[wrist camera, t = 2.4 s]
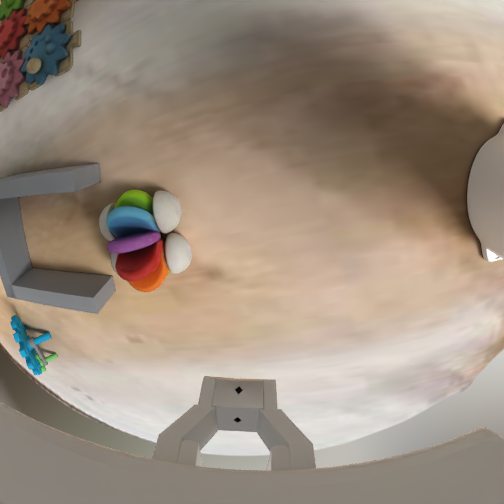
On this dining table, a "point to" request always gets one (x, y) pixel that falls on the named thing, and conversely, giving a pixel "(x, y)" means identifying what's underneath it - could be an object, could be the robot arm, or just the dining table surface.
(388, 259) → the dining table surface
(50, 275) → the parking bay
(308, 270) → the dining table surface
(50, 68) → the gear puzzle
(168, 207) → the multicoloured rounded-lobe toy
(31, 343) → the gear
